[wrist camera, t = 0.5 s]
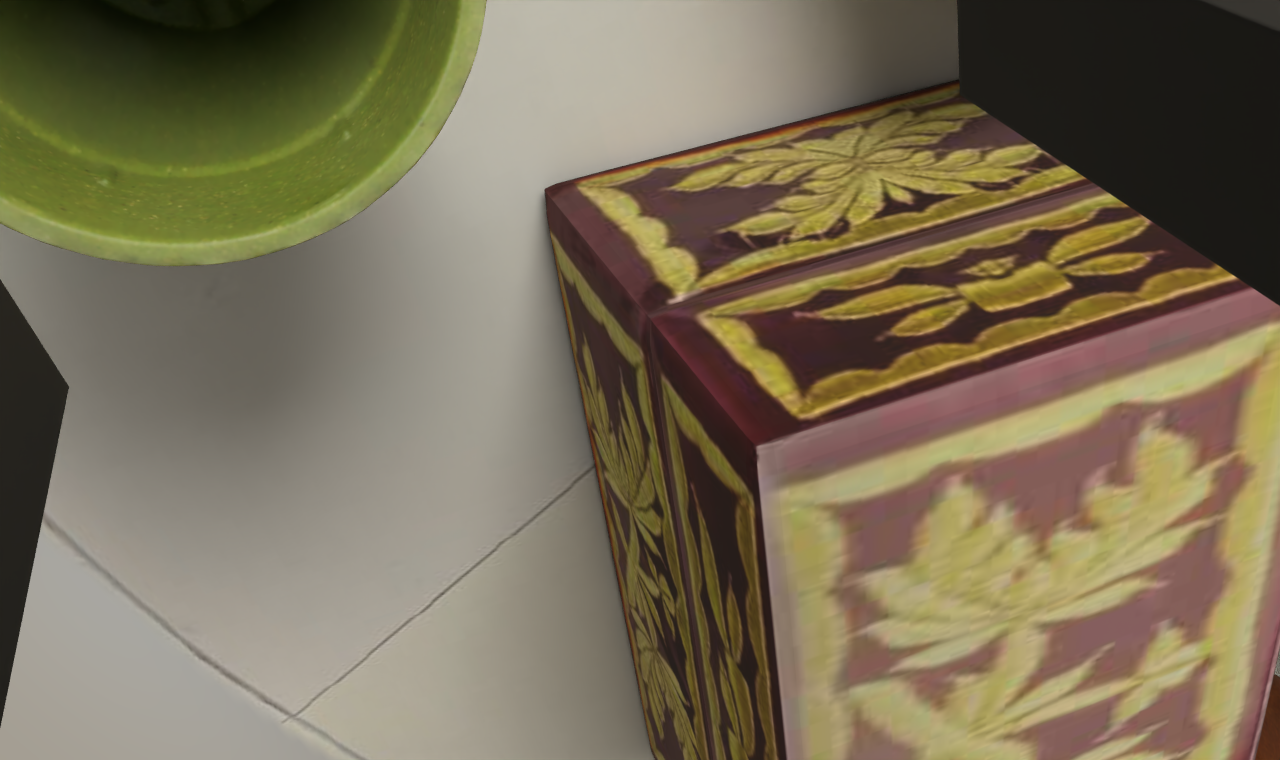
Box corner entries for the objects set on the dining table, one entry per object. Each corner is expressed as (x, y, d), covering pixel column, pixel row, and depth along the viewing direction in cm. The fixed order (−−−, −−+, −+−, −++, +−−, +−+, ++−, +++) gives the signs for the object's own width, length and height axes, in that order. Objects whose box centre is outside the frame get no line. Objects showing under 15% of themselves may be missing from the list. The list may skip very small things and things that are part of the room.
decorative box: (1011, 622, 55) (1250, 880, 42) (650, 757, 51) (795, 1084, 38) (1039, 56, 40) (1413, 195, 28) (537, 184, 36) (711, 413, 24)
